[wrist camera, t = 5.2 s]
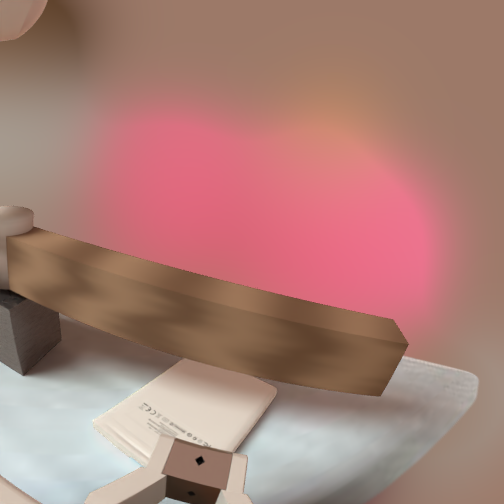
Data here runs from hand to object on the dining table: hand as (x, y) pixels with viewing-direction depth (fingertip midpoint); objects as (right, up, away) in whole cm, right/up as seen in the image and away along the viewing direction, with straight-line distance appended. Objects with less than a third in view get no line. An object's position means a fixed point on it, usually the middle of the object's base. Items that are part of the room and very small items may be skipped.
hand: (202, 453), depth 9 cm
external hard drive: (-3, -6, +11) cm, 13 cm away
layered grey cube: (-18, -1, +11) cm, 22 cm away
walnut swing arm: (-5, +2, +9) cm, 11 cm away
